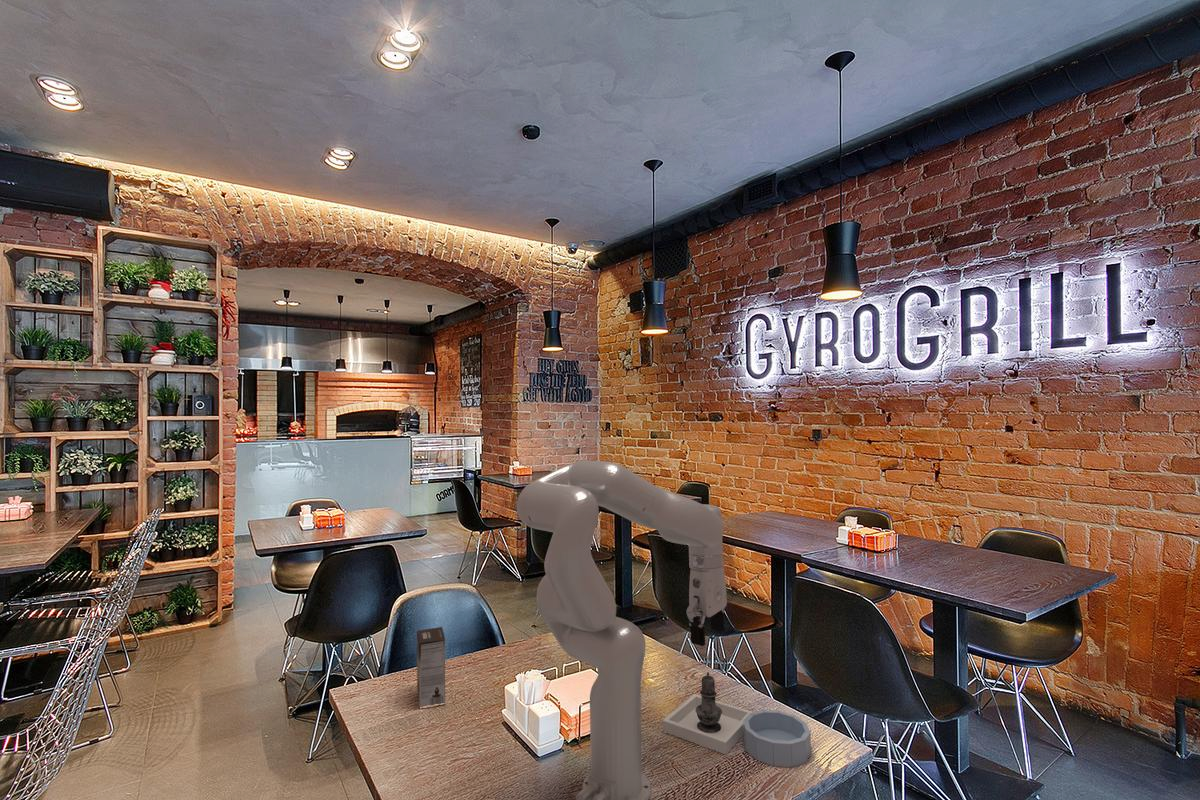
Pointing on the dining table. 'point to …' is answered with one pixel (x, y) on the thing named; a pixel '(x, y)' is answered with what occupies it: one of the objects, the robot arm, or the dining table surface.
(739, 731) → the parts tray
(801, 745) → the bowl
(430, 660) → the coffee box
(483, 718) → the dining table surface
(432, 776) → the dining table surface
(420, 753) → the dining table surface
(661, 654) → the dining table surface
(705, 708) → the dark brown turned figure
